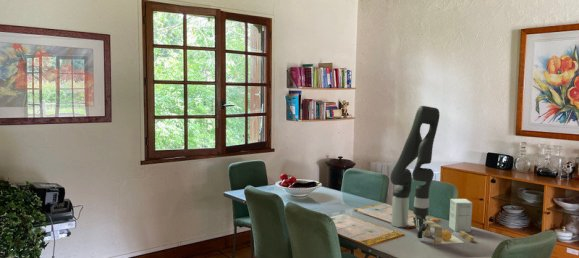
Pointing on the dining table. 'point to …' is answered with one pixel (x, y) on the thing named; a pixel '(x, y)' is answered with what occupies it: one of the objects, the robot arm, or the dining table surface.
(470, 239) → the stopper wall
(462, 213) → the supplement box
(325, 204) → the dining table surface
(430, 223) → the bridge
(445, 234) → the ball
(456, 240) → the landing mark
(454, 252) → the dining table surface
